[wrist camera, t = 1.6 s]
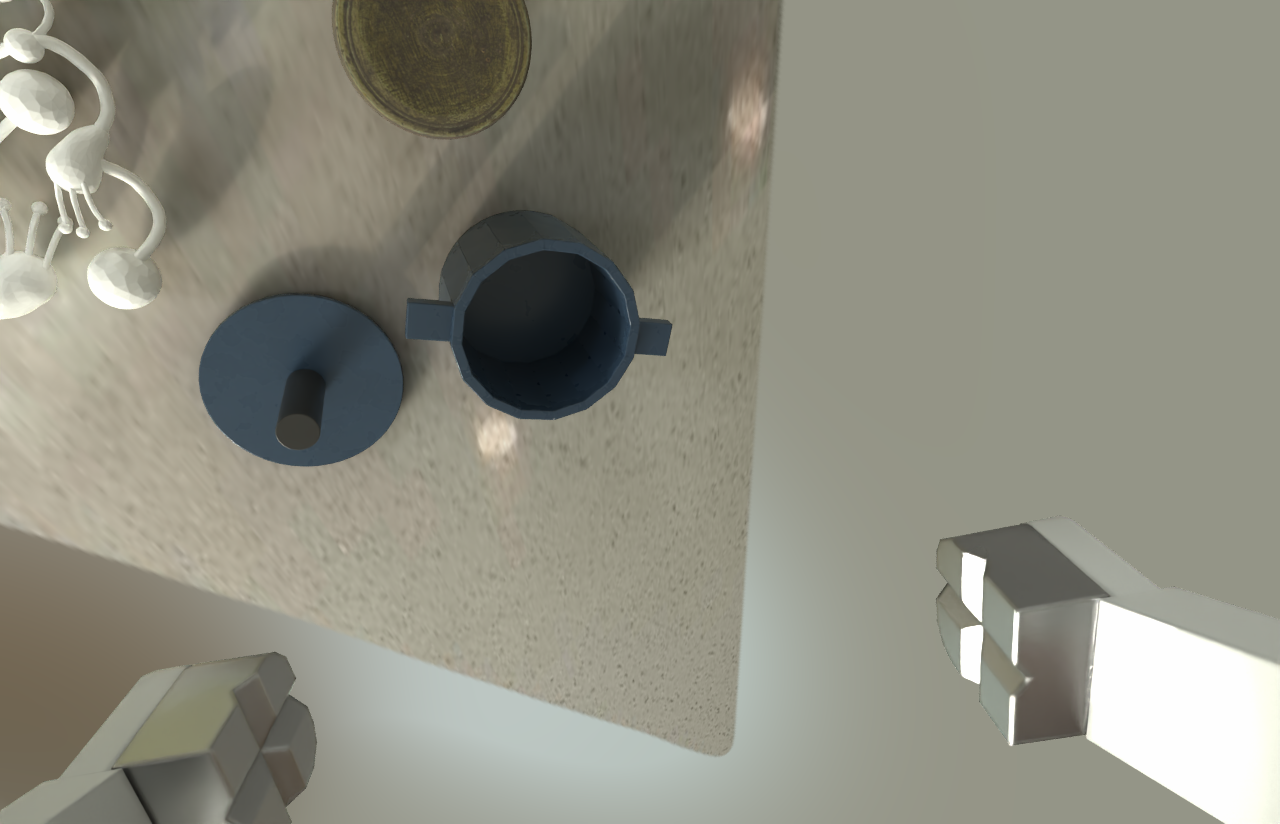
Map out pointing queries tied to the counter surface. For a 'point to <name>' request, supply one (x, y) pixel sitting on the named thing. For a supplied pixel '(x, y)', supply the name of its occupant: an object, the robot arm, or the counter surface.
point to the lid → (301, 379)
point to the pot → (535, 316)
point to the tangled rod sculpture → (68, 182)
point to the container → (435, 60)
